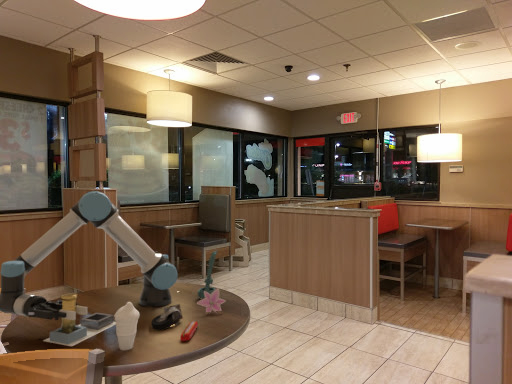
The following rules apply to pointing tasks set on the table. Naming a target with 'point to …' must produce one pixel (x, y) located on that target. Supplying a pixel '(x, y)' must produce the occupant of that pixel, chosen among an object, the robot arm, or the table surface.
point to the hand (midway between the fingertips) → (80, 313)
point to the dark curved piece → (208, 278)
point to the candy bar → (189, 331)
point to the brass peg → (69, 305)
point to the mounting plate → (89, 334)
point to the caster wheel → (167, 317)
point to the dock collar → (68, 335)
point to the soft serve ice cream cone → (126, 325)
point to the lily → (211, 301)
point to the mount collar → (97, 321)
